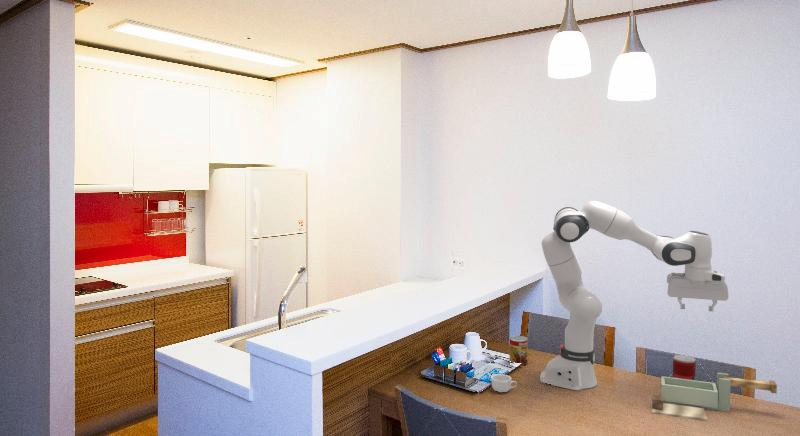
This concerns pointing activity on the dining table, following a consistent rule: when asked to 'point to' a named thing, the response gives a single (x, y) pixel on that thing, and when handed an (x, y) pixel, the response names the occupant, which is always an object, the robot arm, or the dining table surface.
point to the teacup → (502, 382)
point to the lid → (676, 409)
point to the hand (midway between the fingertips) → (696, 310)
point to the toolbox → (697, 392)
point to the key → (754, 384)
